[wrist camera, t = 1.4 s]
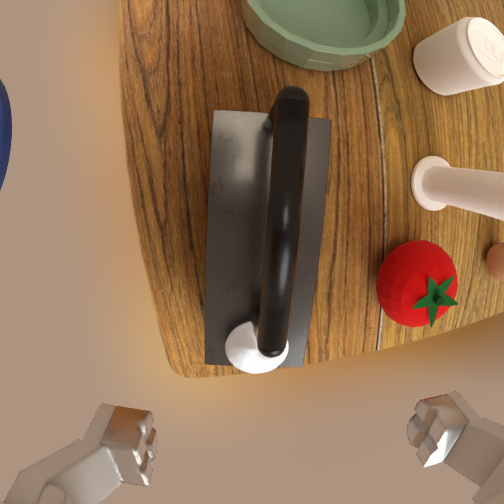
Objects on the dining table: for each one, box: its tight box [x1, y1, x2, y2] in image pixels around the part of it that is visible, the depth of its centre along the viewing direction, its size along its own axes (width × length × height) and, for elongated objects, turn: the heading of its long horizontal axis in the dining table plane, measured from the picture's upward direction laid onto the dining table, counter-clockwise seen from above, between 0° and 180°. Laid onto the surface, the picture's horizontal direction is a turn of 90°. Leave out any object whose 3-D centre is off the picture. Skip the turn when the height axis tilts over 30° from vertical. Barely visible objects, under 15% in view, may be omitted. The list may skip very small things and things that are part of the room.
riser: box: [205, 110, 332, 367], centre depth 32 cm, size 10×24×9 cm, turn 176°
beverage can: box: [413, 17, 504, 95], centre depth 26 cm, size 8×8×12 cm
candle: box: [411, 156, 504, 221], centre depth 24 cm, size 7×7×25 cm
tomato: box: [376, 240, 458, 327], centre depth 34 cm, size 10×10×10 cm
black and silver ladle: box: [225, 86, 310, 373], centre depth 23 cm, size 24×6×11 cm, turn 176°
